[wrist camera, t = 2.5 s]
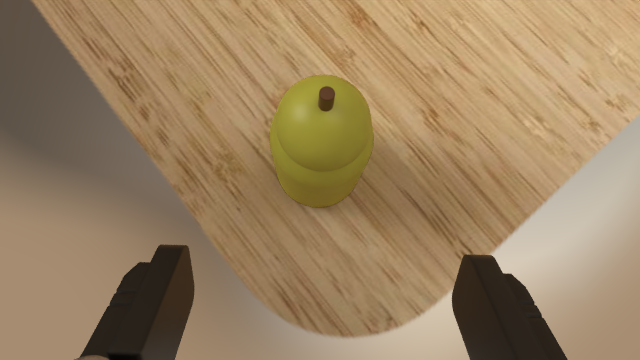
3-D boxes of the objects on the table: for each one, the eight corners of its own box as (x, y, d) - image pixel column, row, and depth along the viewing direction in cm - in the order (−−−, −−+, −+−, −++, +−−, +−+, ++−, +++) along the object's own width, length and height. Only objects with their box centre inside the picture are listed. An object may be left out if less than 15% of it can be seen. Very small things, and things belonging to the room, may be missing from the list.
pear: (259, 178, 25) (231, 111, 15) (305, 112, 26) (306, 10, 16) (331, 223, 24) (349, 184, 15) (375, 154, 26) (418, 75, 16)
